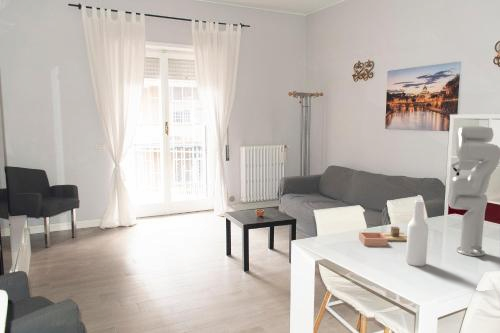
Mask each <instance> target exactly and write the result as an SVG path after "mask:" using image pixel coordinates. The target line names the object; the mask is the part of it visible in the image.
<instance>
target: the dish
mask: <svg viewBox="0 0 500 333" xmlns="http://www.w3.org/2000/svg"><path fill="white" fill-rule="evenodd" d="M382 233H383V232H377V231H376V232H372V231H369V232H368V231H367V232H366V231H360V232H358V240H359V241H360V242H361V244H362V245H363V246H364V247H366V246H367V247H368V246H369V247H374V246H375V247H388V242H387V238H386V237H385V236H384V235H383V234H382Z"/></svg>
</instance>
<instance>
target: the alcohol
mask: <svg viewBox="0 0 500 333" xmlns="http://www.w3.org/2000/svg"><path fill="white" fill-rule="evenodd" d="M424 203H425V201H424V200H421V199H416V200H414V208H413V213H412V214H413V215H412V219H411V220H410V221H409V222H408V225H407V233H406V236H407V242H406V253H405V254H406V255H405V261H406V263H407V264H408V265H410V266H413V267H425V265H426V264H427V256H428V255H427V253H428V236H429V226H428V223H427V222H426V221H425V219H424V218H425V212H424V205H425V204H424Z"/></svg>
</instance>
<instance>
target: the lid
mask: <svg viewBox="0 0 500 333" xmlns="http://www.w3.org/2000/svg"><path fill="white" fill-rule="evenodd" d="M400 230H401V229H400V227H398V226H391V227H390V232H381V233H382V234H383V235H384V236H385V237H386V238H387V241H388V242H387V243H407V234H405V233H404V232H400Z"/></svg>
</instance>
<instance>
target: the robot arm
mask: <svg viewBox="0 0 500 333" xmlns="http://www.w3.org/2000/svg"><path fill="white" fill-rule="evenodd" d="M493 138H494V130H493V128H492V127H489V126H488V127H486V126H482V125H481V126H478V125H477V126H476V125H475V126H474V125H470V126H467V125H466V126H465V125H464V126H460V127H459V128H457V131H456V135H455V146H456V147H455V149H456V150H455V151H456V157H457V159H458V161H457V162H454V163H452V164H451V167H452V170H453V171H454V172H456V174H455V176H453V177H452V178H451V181H450V184H449V188H448V194H447V195H448V196H447V204H448V206H449V207H450V209H454V210H466V212H465V213H464V214H463V216H462V218H461V231H460V244H459V245H460V246H458V247H456V252H458V253H460V254H462V255H466V256H468V257H469V256H470V257H483V256H485V255H486V251H484V250H483V249H482V248H483V247H482V246H483V235H484V223H485V222H484V220H485V213H486V209H487V204H488V196H487V195H486V193H487V190H488V187H489V183H490V180H491V176H492V174H493V173H494V172H495V170H496V169H497V167H498V166H499V164H500V147H499V145H497V144H493V143H490V142H492V141H493ZM456 166H458V168H456ZM461 170H463V171H470V172H469V175H460V172H461Z"/></svg>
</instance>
